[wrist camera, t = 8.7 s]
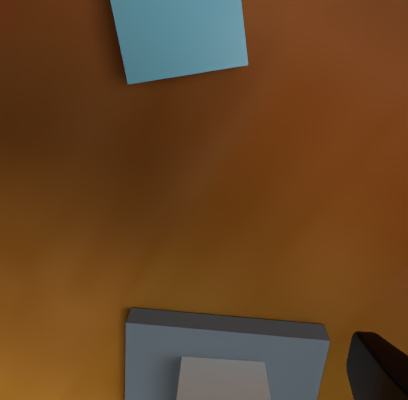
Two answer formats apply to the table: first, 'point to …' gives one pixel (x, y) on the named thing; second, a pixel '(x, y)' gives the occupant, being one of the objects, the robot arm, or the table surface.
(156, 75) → the teal brick
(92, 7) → the table surface
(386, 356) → the robot arm
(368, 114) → the table surface
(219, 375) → the cream brick
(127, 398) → the baseplate
